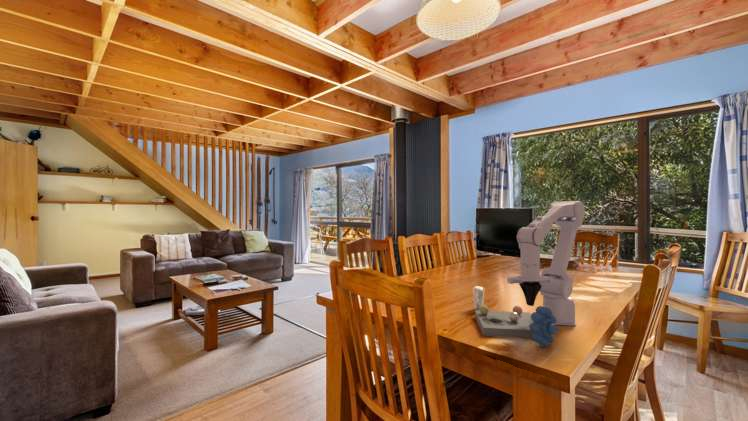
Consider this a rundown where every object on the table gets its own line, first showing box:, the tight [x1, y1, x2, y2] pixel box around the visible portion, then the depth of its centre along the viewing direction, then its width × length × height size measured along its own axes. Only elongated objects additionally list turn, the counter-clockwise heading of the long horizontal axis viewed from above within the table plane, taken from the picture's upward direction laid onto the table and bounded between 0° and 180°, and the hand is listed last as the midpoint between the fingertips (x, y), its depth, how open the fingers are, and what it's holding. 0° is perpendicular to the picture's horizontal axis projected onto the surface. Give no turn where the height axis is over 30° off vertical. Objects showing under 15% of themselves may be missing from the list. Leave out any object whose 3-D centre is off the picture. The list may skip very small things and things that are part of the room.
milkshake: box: [472, 285, 486, 311], centre depth 128 cm, size 4×5×10 cm
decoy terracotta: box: [512, 305, 524, 315], centre depth 114 cm, size 3×3×3 cm
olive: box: [479, 304, 490, 315], centre depth 115 cm, size 3×3×3 cm
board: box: [474, 309, 533, 339], centre depth 109 cm, size 19×18×2 cm
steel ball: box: [509, 311, 520, 322], centre depth 107 cm, size 3×3×3 cm
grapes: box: [529, 305, 559, 348], centre depth 93 cm, size 12×7×12 cm, turn 122°
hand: (530, 305), depth 106 cm, fingers closed
